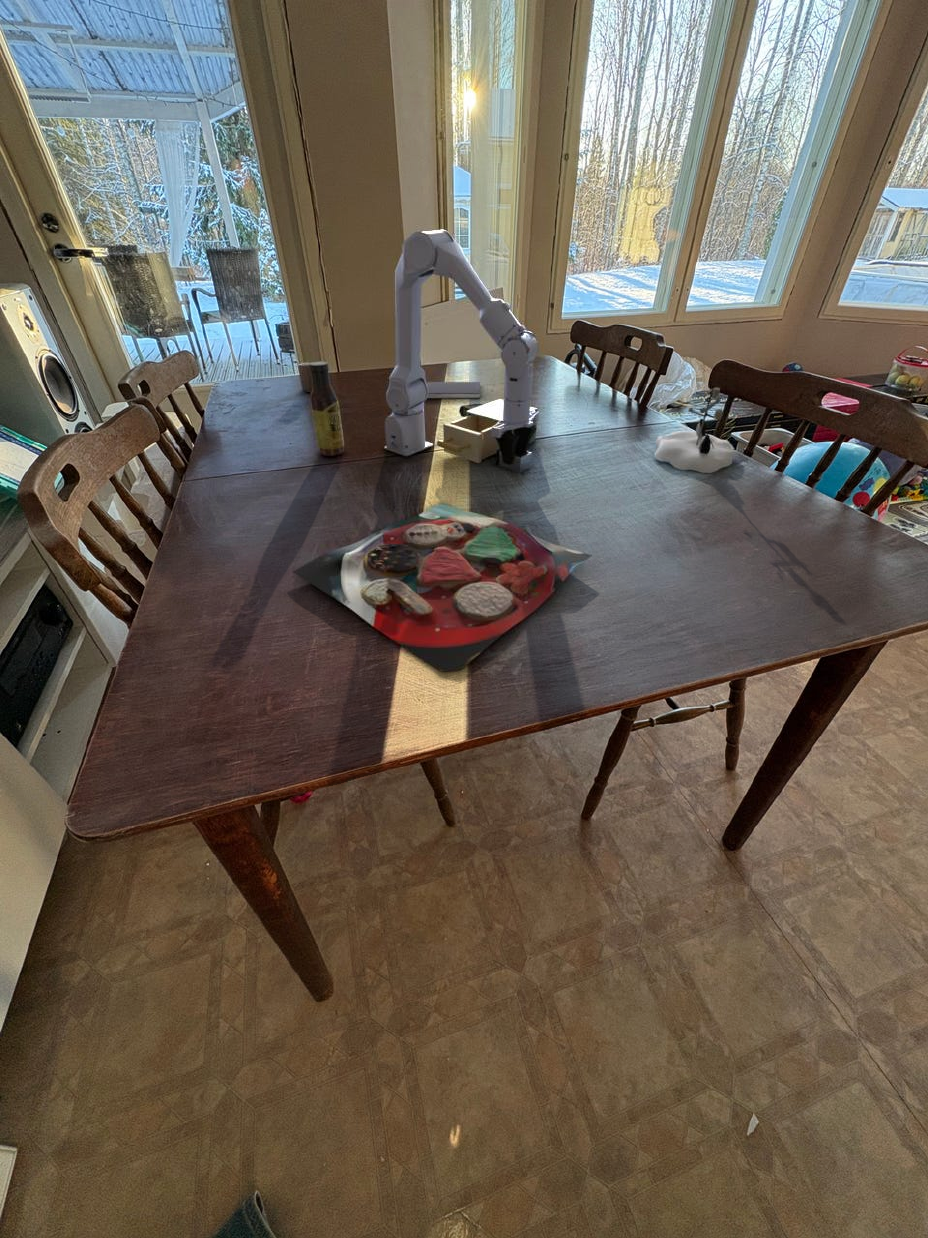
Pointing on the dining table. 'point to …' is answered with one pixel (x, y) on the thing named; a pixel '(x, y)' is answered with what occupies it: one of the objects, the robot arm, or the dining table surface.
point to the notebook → (453, 390)
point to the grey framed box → (516, 460)
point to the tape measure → (467, 408)
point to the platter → (444, 581)
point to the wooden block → (305, 377)
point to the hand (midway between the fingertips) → (513, 460)
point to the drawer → (469, 438)
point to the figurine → (697, 444)
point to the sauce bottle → (325, 412)
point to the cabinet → (495, 413)
